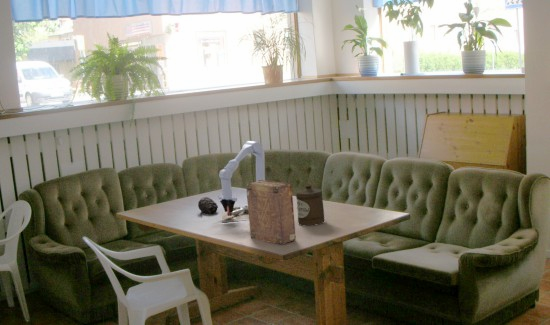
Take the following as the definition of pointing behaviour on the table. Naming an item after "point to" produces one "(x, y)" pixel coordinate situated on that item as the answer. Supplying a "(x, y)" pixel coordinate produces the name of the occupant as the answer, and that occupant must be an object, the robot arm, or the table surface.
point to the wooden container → (310, 206)
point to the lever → (244, 208)
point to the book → (271, 211)
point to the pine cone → (207, 206)
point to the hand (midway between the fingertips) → (228, 211)
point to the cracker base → (235, 216)
